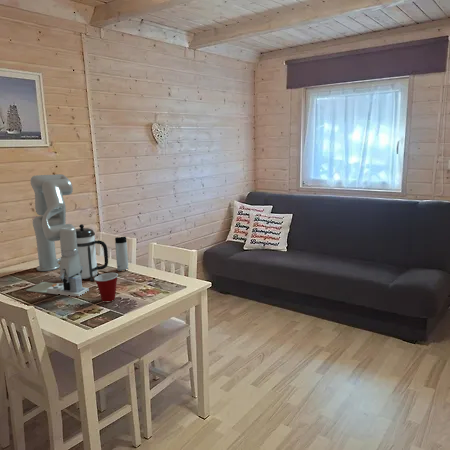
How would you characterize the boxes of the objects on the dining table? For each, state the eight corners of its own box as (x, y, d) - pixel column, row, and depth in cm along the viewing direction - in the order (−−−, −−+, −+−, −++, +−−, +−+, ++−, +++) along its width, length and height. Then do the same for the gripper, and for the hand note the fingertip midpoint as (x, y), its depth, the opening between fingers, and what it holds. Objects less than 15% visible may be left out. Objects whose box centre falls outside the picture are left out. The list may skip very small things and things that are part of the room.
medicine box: (83, 292, 198) (81, 275, 196) (77, 295, 193) (75, 278, 192) (70, 290, 200) (68, 273, 198) (63, 293, 196) (62, 276, 194)
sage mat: (43, 282, 211) (42, 281, 211) (62, 284, 208) (62, 283, 208) (25, 290, 200) (25, 289, 200) (45, 293, 197) (45, 292, 197)
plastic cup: (100, 295, 192) (98, 271, 190) (122, 295, 192) (121, 271, 189) (92, 304, 182) (90, 279, 179) (116, 304, 181) (114, 279, 179)
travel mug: (118, 272, 227) (116, 238, 223) (116, 269, 232) (113, 235, 228) (129, 270, 229) (127, 236, 225) (126, 267, 235) (124, 234, 231)
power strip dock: (58, 287, 204) (57, 281, 203) (88, 290, 199) (88, 285, 198) (47, 293, 196) (46, 287, 196) (78, 296, 191) (78, 290, 191)
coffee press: (78, 285, 207) (73, 228, 201) (67, 278, 218) (62, 224, 212) (110, 277, 218) (106, 224, 212) (97, 271, 230) (93, 220, 224)
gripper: (74, 247, 202) (77, 280, 205) (50, 257, 185) (54, 292, 189) (87, 248, 200) (90, 281, 203) (64, 258, 183) (67, 294, 187)
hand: (72, 286), depth 196 cm, fingers open, 7 cm apart
